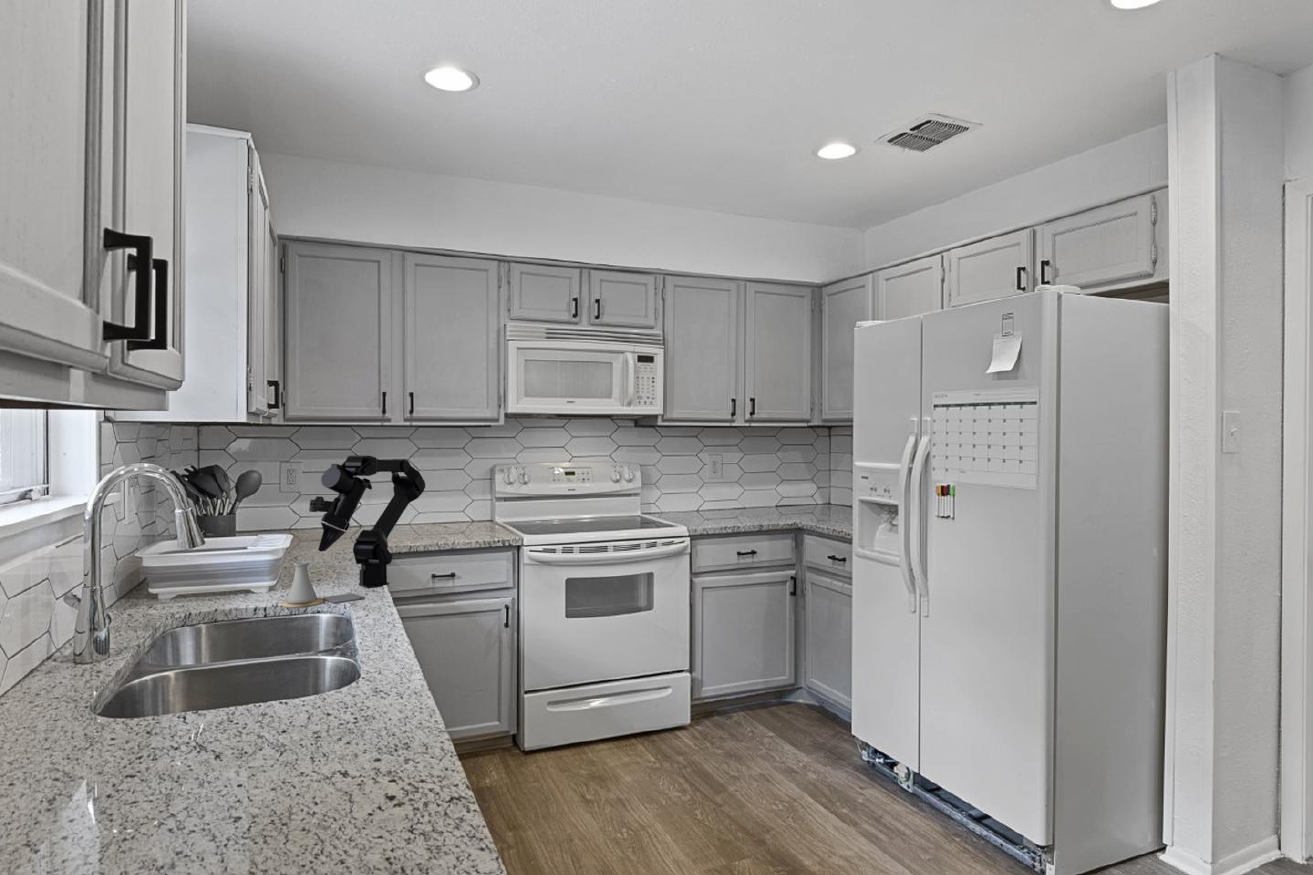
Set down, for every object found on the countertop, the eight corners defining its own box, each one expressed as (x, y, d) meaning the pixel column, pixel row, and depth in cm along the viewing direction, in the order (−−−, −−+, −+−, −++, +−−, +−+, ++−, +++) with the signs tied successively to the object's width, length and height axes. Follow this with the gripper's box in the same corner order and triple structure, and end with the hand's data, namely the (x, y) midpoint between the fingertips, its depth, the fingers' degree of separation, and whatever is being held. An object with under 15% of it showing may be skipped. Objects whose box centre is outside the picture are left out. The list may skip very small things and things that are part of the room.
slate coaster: (352, 594, 212) (352, 593, 212) (364, 599, 207) (364, 597, 207) (322, 598, 207) (322, 597, 207) (333, 603, 201) (333, 602, 201)
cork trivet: (315, 597, 209) (315, 595, 209) (329, 603, 202) (329, 601, 202) (275, 602, 203) (275, 601, 203) (288, 609, 195) (288, 607, 195)
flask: (323, 599, 205) (322, 561, 205) (304, 605, 198) (304, 565, 198) (299, 598, 207) (298, 560, 206) (279, 604, 199) (279, 564, 199)
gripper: (323, 488, 223) (296, 538, 219) (317, 483, 205) (288, 538, 202) (360, 504, 226) (334, 554, 222) (358, 501, 208) (330, 555, 204)
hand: (321, 550), depth 212 cm, fingers open, 9 cm apart
